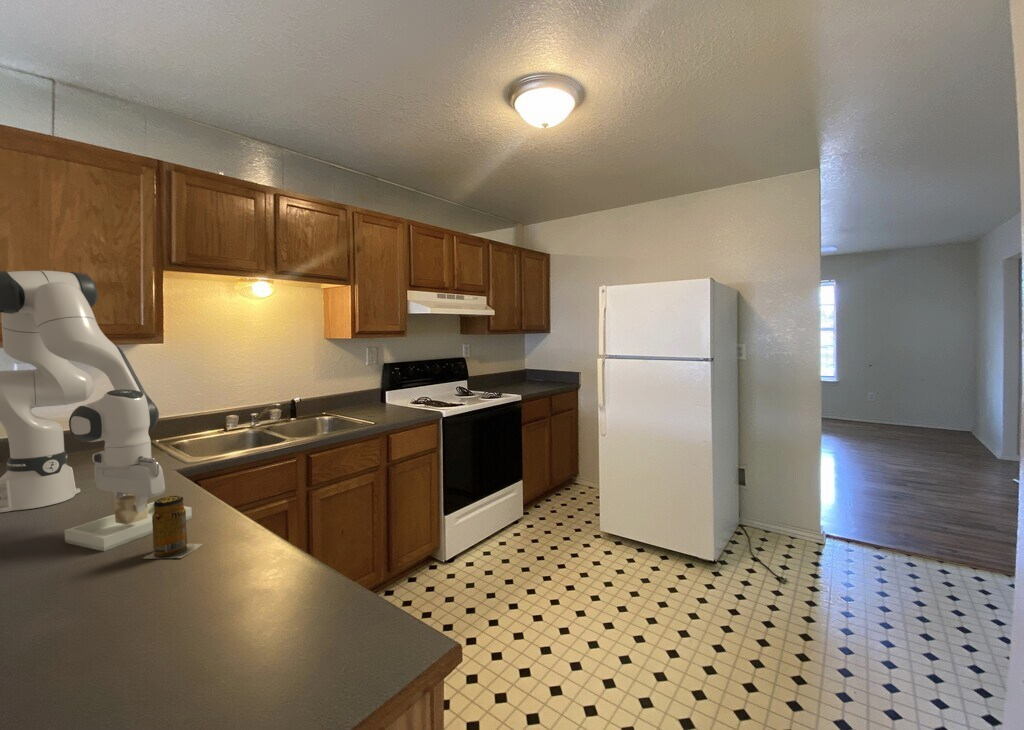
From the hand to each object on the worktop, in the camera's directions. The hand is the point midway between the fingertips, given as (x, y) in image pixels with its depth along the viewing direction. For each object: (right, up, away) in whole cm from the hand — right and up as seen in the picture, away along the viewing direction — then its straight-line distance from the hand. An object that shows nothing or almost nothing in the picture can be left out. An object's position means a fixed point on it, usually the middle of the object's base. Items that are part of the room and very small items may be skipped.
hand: (131, 509), depth 114 cm
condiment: (+19, -6, -12) cm, 23 cm away
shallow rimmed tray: (0, -5, 0) cm, 5 cm away
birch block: (0, -3, 0) cm, 3 cm away
